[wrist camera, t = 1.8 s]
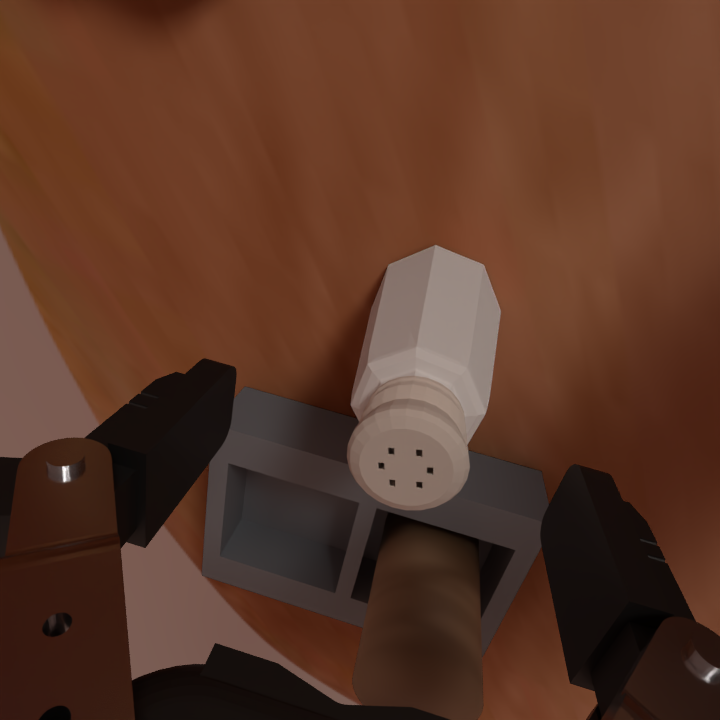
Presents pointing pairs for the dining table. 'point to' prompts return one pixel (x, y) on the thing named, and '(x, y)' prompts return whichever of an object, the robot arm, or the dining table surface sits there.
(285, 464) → the grey rectangular open block
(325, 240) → the dining table surface
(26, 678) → the robot arm
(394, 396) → the salt shaker
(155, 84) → the dining table surface
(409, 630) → the fitted dowel
